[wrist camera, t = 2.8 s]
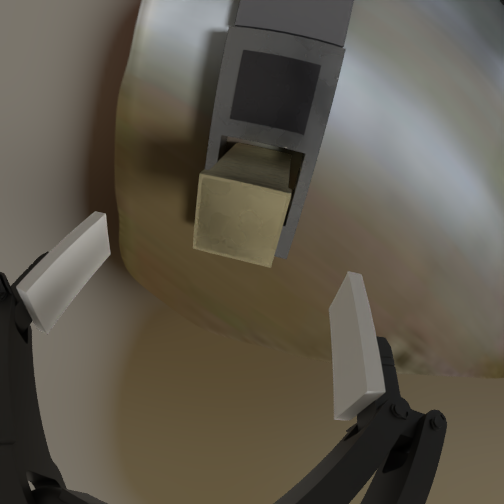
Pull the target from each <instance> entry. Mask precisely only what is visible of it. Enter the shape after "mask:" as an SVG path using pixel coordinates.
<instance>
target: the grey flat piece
mask: <svg viewBox="0 0 504 504" xmlns="http://www.w3.org/2000/svg"><path fill="white" fill-rule="evenodd" d="M344 53H345V49H344V48H340V47H337V46H334V45H330V44H327V43H323V42H319V41H316V40H312V39H307V38H303V37H299V36H294V35H289V34H284V33H278V32H273V31H266V30H259V29H252V28H243V27H233V26H229V30H228V34H227V39H226V44H225V48H224V53H223V58H222V64H221V69H220V74H219V80H218V85H217V91H216V97H215V103H214V109H213V115H212V122H211V128H210V135H209V142H208V149H207V157H206V165H205V170H210V169H211V168H212V167H213V166H214V165H215V164H216V163H217V162H218V161H219V160H220V159H221V158H222V157H223V156H224V155H225V149H226V142H227V136H230V137H235V138H240V139H245V140H250V141H255V142H260V143H264V144H269V145H273V146H277V147H282V148H286V149H290V150H294V151H298V152H301V153H303V156H302V160H301V164H300V168H299V171H298V175H297V179H296V182H295V186H294V190H293V193H292V197H291V200H290V204H289V208H288V211H287V214H286V216H285V220H284V223H283V227H282V230H281V234H280V237H279V241H278V244H277V248H276V251H275V255H274V256H276V257H280V258H284V259H287V256H288V253H289V250H290V246H291V243H292V240H293V237H294V234H295V231H296V227H297V224H298V221H299V218H300V215H301V211H302V208H303V205H304V201H305V198H306V195H307V192H308V188H309V185H310V181H311V178H312V175H313V171H314V168H315V164H316V161H317V157H318V154H319V150H320V147H321V143H322V139H323V136H324V132H325V128H326V125H327V121H328V117H329V113H330V110H331V106H332V102H333V98H334V94H335V90H336V86H337V82H338V78H339V74H340V70H341V66H342V62H343V58H344Z"/></svg>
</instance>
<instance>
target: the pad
mask: <svg viewBox="0 0 504 504" xmlns="http://www.w3.org/2000/svg"><path fill="white" fill-rule="evenodd" d="M353 1H354V0H240V4H239V8H238V12H237V16H236V21H235V26H236V27H243V28H252V29H259V30H266V31H273V32H278V33H284V34H289V35H294V36H299V37H303V38H307V39H312V40H316V41H319V42H323V43H327V44H330V45H334V46H337V47H340V48H342V47H344V43H345V38H346V34H347V29H348V25H349V20H350V15H351V11H352V6H353Z"/></svg>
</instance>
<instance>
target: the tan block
mask: <svg viewBox="0 0 504 504" xmlns="http://www.w3.org/2000/svg"><path fill="white" fill-rule="evenodd" d="M290 165H291V154H287V153H283V152H279V151H275V150H271V149H266V148H262V147H257V146H253V145H248V144H243V143H238V142H237V143H236V144H235V145H234V146H233V147H232V148H231V149H230V150H229V151H228V152H227V153H226V154H225V155H224V156H223V157H222V158H221V159H220V160H219V161H218V162H217V163H216V164H215V165H214V166H213V167H212V168H211V169H210V170H205V169H204V170H203V171H202V172H201V173H200V174H199V183H198V193H197V203H196V214H195V226H194V239H193V249H197V250H201V251H205V252H209V253H213V254H217V255H221V256H225V257H229V258H233V259H238V260H242V261H246V262H250V263H254V264H258V265H262V266H266V267H270V268H271V265H272V262H273V258H274V255H275V251H276V248H277V244H278V241H279V237H280V234H281V230H282V227H283V223H284V220H285V216H286V212H287V209H288V205H289V202H290V198H291V194H292V189H290V188H288V185H289V175H290Z"/></svg>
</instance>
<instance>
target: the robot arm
mask: <svg viewBox="0 0 504 504" xmlns="http://www.w3.org/2000/svg"><path fill="white" fill-rule="evenodd" d="M500 1H501V2H502V3H503V4H504V0H500ZM109 255H110V247H109V239H108V231H107V222H106V214H105V213H100V212H96V211H95V212H94V213H93V214H92V215H90V216H89V217H88V218H87V219H86V220H85V221H83V222H82V223H81V224H80V225H79V226H77V227H76V228H75V229H74V230H73V231H72V232H71V233H69V234H68V235H67V236H66V237H65V238H64V239H63V240H62V241H61V242H60V243H58V244H57V245H56V246H55V248H53V249H52V250H51V251H50V252H46V253H45V254H43V255H41V256H40V257H38V258H37V259H36V260H35V261H34V263H33V264H31V265H30V266H29V268H28V269H27V270H26V271H25V272H24V273H23V274H22V275H21V276H20V277H19V278H18V279H17V280H16V281H15V282H14V283H13V284H12V285H11V286H10V285H9V282H8V280H7V278H6V276H5V274H4V273H2V272H0V504H107V503H105V502H103V501H101V500H99V499H97V498H95V497H93V496H91V495H89V494H87V493H82V492H77V491H72V490H68V489H67V488H66V486H65V483H64V481H63V478H62V475H61V473H60V471H59V469H58V467H57V466H56V465H55V463H54V462H53V461H52V459H51V456H50V453H49V450H48V446H47V442H46V438H45V434H44V430H43V426H42V421H41V416H40V411H39V406H38V399H37V393H36V385H35V377H34V367H33V354H32V330H31V326H30V323H31V322H32V321H33V322H34V324H35V326H36V327H37V329H38V330H40V331H42V332H43V333H45V334H48V333H49V331H50V330H51V329H52V327H53V326H54V324H55V323H56V322H57V320H58V319H59V317H60V316H61V315H62V313H63V312H64V311H65V309H66V308H67V307H68V305H69V304H70V303H71V301H72V300H73V299H74V298H75V296H76V295H77V294H78V292H79V291H80V290H81V289H82V287H83V286H84V285H85V284H86V282H87V281H88V280H89V279H90V277H91V276H92V275H93V274H94V273H95V271H96V270H97V269H98V268H99V267H100V266H101V264H102V263H103V262H104V261H105V260H106V259H107V257H108V256H109ZM329 315H330V327H331V342H332V360H333V382H334V383H333V385H334V420H351V419H353V418H354V417H355V416H356V415H357V423H356V424H355V425H353V426H352V427H350V428H349V429H348V430H346V431H347V432H348V433H347V434H346V435H345V437H344V438H343V439H342V440H341V441H340V442H339V443H338V444H337V445H336V446H335V447H334V449H333V450H332V451H331V452H330V453H329V454H328V455H327V456H326V457H325V458H324V459H323V460H322V461H321V462H320V463H319V464H318V465H317V466H316V467H315V468H314V469H313V470H312V471H311V472H310V473H309V474H308V475H306V476H305V477H304V478H303V479H302V480H301V481H300V482H299V483H298V484H297V485H295V486H294V487H293V488H292V489H291V490H290V491H288V492H287V493H286V494H285V495H284V496H282V497H281V498H280V499H279V500H277V501H276V502H275V503H274V504H349V503H350V501H351V500H352V499H353V498H354V497H355V496H356V495H357V493H358V492H359V491H360V490H361V489H362V488H363V486H364V485H365V484H366V483H367V481H368V480H369V479H370V478H371V476H372V475H373V474H374V472H375V471H376V470H377V471H376V474H375V476H374V478H373V480H372V482H371V484H370V486H369V488H368V490H367V492H366V494H365V496H364V498H363V500H362V502H361V504H425V503H426V500H427V497H428V494H429V492H430V489H431V486H432V483H433V480H434V477H435V473H436V470H437V467H438V463H439V459H440V455H441V451H442V447H443V443H444V438H445V433H446V428H447V422H446V418H445V416H444V415H443V414H442V413H441V412H440V411H439V410H431V411H429V412H428V413H427V414H422V413H420V412H417V411H414V410H412V409H411V408H410V406H409V404H408V402H407V401H406V400H405V399H403V398H402V397H401V396H400V391H399V385H398V380H397V374H396V369H395V367H394V365H395V364H394V359H393V354H392V350H391V346H390V345H389V343H388V341H387V340H386V338H384V337H377V336H376V333H375V328H374V324H373V319H372V315H371V310H370V306H369V302H368V298H367V294H366V290H365V286H364V282H363V278H362V274H358V273H354V272H349V271H348V273H347V275H346V277H345V279H344V281H343V283H342V285H341V287H340V289H339V291H338V293H337V294H336V296H335V298H334V300H333V302H332V304H331V306H330V308H329ZM377 468H378V469H377ZM28 481H30V482H32V484H33V485H34V487H35V490H33V491H31V489H30V486H29V483H28Z"/></svg>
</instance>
